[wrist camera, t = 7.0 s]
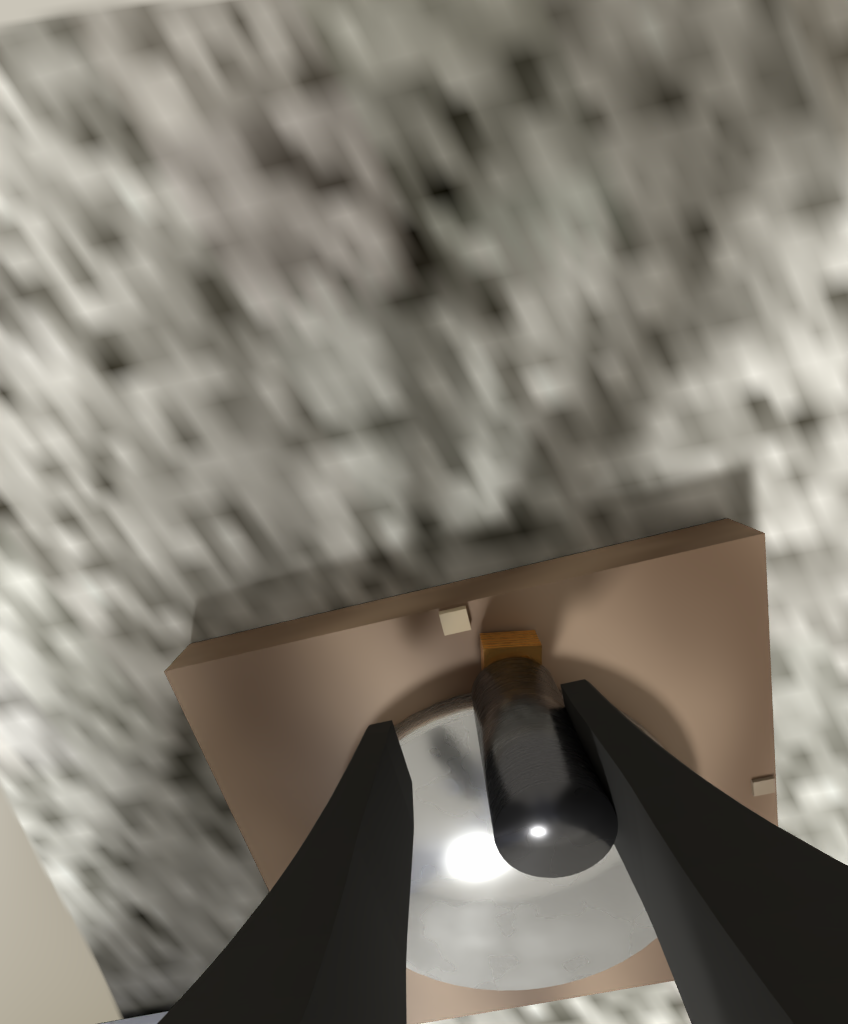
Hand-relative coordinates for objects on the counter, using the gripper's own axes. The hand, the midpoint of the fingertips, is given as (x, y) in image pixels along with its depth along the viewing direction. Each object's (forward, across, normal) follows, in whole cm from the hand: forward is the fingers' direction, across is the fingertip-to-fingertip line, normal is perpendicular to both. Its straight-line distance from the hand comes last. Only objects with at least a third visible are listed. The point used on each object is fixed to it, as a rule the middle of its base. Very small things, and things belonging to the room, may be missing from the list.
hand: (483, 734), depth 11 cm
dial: (+2, 0, +7) cm, 7 cm away
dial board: (+4, 0, +7) cm, 8 cm away
